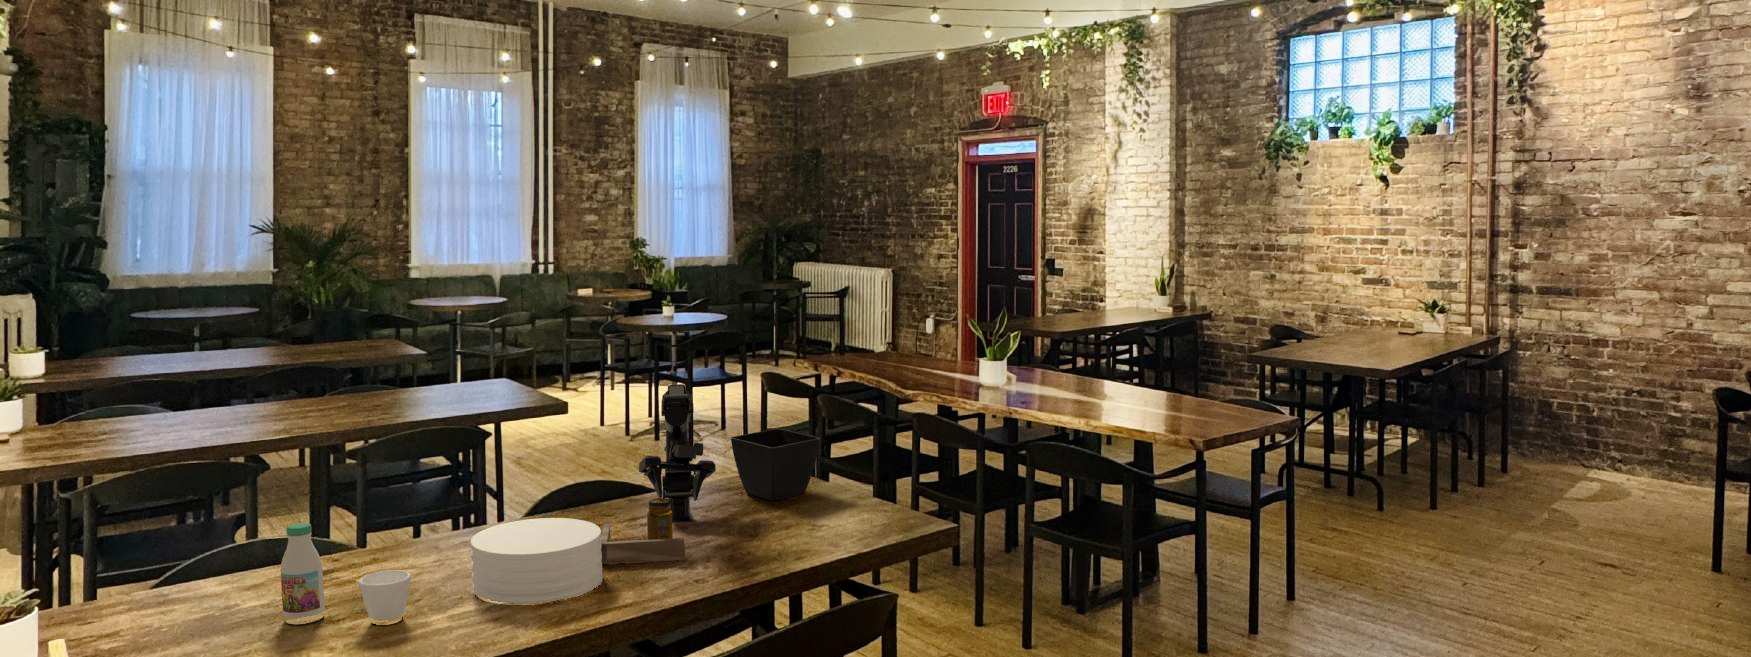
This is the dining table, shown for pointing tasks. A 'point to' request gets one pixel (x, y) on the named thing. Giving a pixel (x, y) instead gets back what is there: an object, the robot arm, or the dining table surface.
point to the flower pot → (775, 462)
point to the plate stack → (536, 560)
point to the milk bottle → (301, 574)
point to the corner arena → (640, 549)
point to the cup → (385, 593)
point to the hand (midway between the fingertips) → (678, 499)
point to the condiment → (659, 519)
